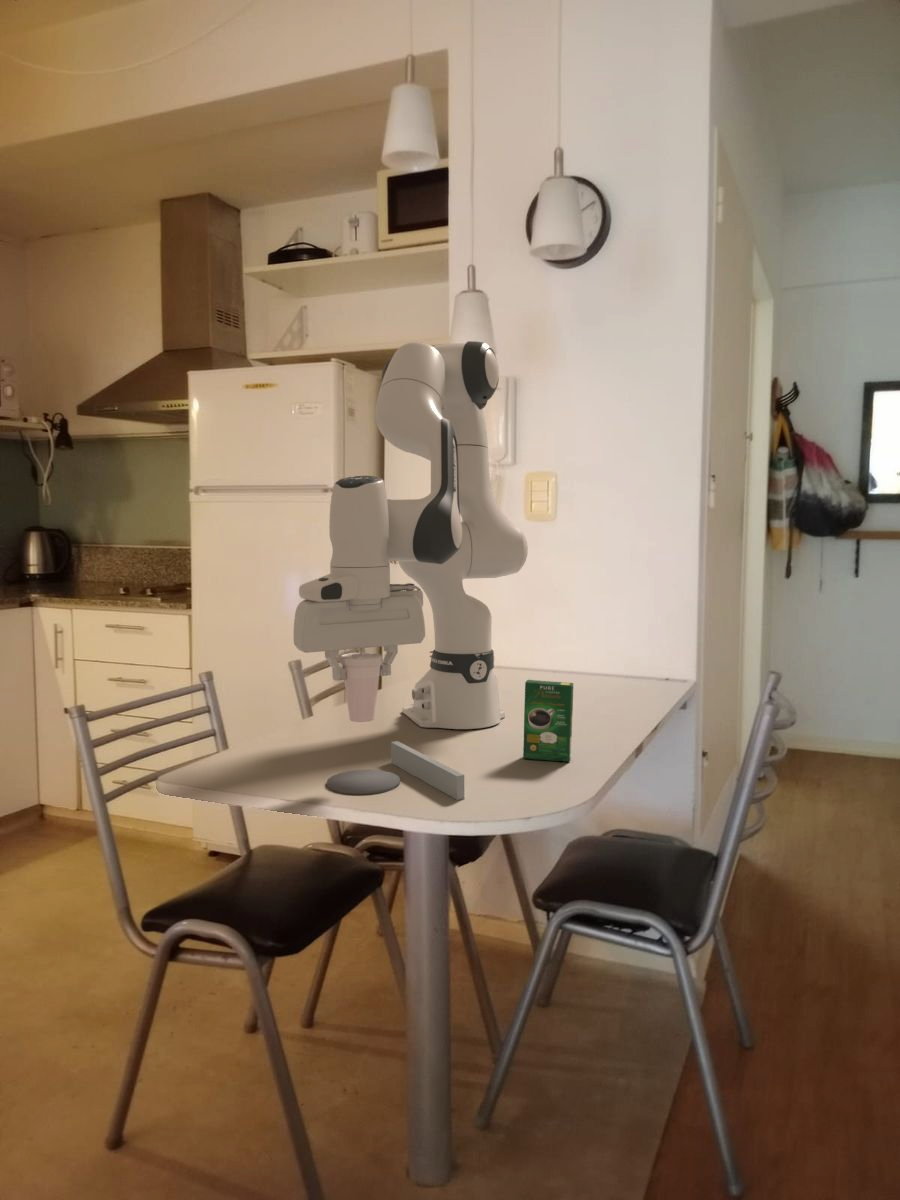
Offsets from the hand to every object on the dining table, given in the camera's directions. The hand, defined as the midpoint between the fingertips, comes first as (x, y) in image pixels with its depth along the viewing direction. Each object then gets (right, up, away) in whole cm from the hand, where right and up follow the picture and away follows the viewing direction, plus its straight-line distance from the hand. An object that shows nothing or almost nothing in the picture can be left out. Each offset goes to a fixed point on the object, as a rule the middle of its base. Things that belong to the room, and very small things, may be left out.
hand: (362, 677), depth 135 cm
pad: (0, -16, +2) cm, 16 cm away
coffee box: (+29, -15, +15) cm, 36 cm away
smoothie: (0, -7, +1) cm, 7 cm away
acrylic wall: (+9, -16, +3) cm, 19 cm away
